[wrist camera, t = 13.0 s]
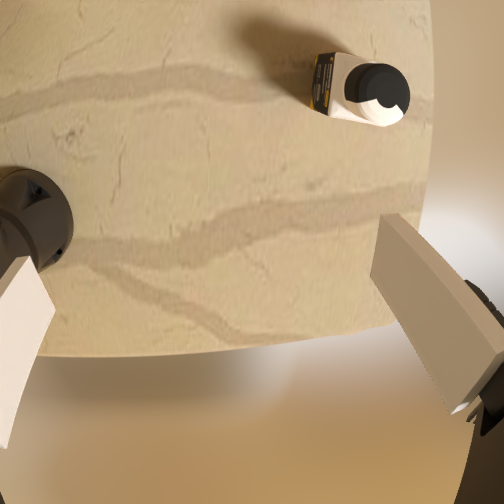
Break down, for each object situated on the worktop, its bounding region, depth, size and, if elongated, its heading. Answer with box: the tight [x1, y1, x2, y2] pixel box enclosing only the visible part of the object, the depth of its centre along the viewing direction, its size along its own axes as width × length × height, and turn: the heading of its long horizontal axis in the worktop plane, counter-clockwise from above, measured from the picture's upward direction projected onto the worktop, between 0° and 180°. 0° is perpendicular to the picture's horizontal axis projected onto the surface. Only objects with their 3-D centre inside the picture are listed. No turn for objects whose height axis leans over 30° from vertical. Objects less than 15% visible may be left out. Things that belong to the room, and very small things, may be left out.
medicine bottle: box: [310, 52, 410, 127], centre depth 28 cm, size 7×7×12 cm
